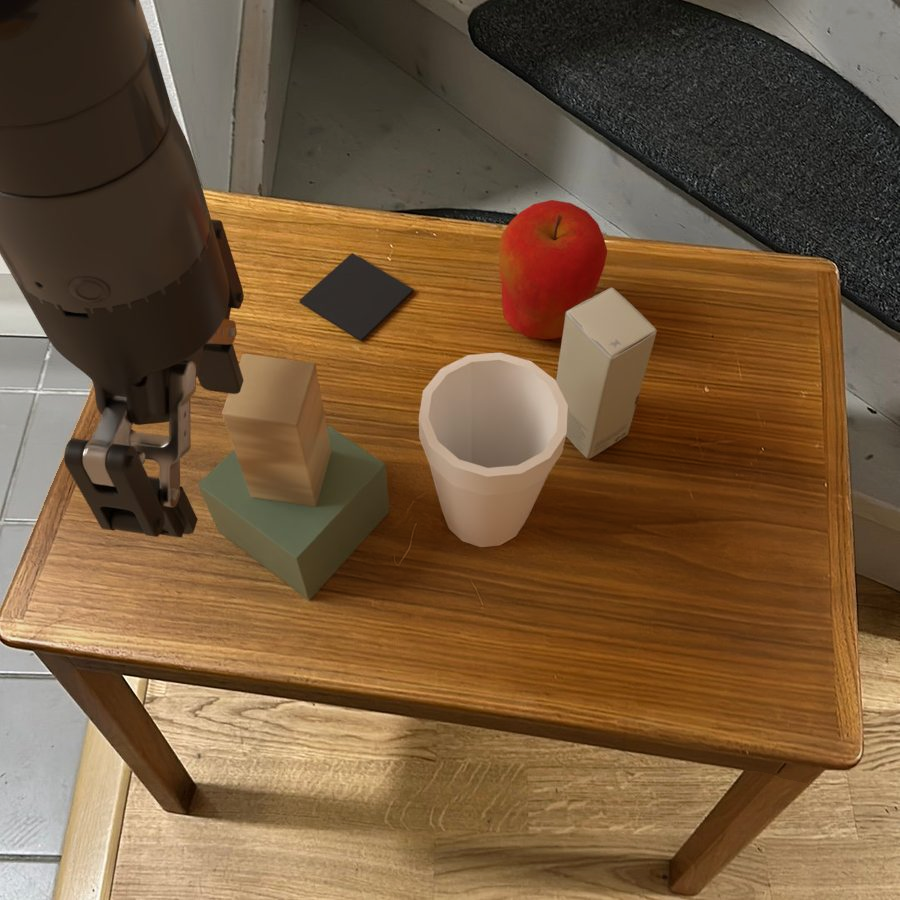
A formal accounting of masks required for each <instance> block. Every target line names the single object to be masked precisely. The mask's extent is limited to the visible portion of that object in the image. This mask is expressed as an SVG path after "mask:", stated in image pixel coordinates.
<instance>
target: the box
mask: <svg viewBox="0 0 900 900" xmlns="http://www.w3.org/2000/svg"><path fill="white" fill-rule="evenodd" d="M656 335H657V328H656V327H655V326H654V325H653V324H652V323H651V322H650V321H649V320H648V319H647V318H646V317H645V316H644V315H643V314H642V313H641V312H640V311H639V310H638V309H637V308H635V306H633V304H631V302H629V301H628V300H627V298H625V297H624V296H623V295H622V294H621V293H619V292H618V291H617V290H616V288H613V287H609V288H606V289H605V290H603V291H602V292H600V293H598V294H596V295H593V296H592V298H590V299H588V300H586V301H584V302H582V303H580V304H579V305H577V306H575V307H573V308H571V309H570V310H568V311H566V314H565V322H564V329H563V337H561V343H560V344H561V345H560V350H559V357H558V364H557V371H556V377H555V381H556V383H557V385H558V387H559V389H560V391H561V393H562V395H563V397H564V399H565V401H566V403H567V405H568V414H567V432H566V438H567V439H568V440H569V442H571V444H572V445H573V446H574V447H575V448H576V449H577V450H578V451H579V452H580V453H581V454H582V456H583V457H585V459H586V460H589V459H591V458H593V457H595V456H597V455H599V454H601V452H603V451H605V450H606V449H609V448H610V447H611V446H613V445H614V444H616V443H618V442H619V441H620V440H622V439H623V438H625V437H626V436H628V435H629V432H630V428H631V425H632V421H633V418H634V414H635V410H636V406H637V404H638V400H639V395H640V393H641V391H642V385H643V382H644V379H645V375H646V371H647V367H648V364H649V361H650V357H651V354H652V351H653V347H654V343H655V339H656Z"/></svg>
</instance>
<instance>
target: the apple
mask: <svg viewBox="0 0 900 900" xmlns="http://www.w3.org/2000/svg"><path fill="white" fill-rule="evenodd" d="M604 237H605V236H604V235H603V233H602V230H601V227H600V225H599V223H598V222H597V221H596V219H595V218H594V217H592V215H591V214H590V213H589V212H588V211H587V210H585V209H583V208H581V207H579V206H577V205H576V204H574V203H572V202H567V201H561V200H555V199H550V200H546V201H541V202H536V203H533V204H532V205H530V206H528V207H527V208H525V209H523V210H522V211H520V212H519V213H517V214H516V216H514V217H513V218H512V219H511V220H510V222H509V223H508V225H507V226H506V227H505V229H504V230H503V232H502V233H501V234H500V241H499V249H498V268H499V275H500V276H499V277H500V283H501V309H502V312H503V318H504V320H505V321H506V322H507V323H508V325H509V326H510V327H511V328H512V329H513V331H516V332H517V333H520V334H521V335H523V336H525V337H527V338H532V339H538V340H539V339H541V340H553V339H562V337H563V329H564V322H565V314H566V311H568V310H570V309H571V308H573V307H575V306H577V305H579V304H580V303H582V302H584V301H586V300H588V299H590V298H592V297H594V294H595V291H596V289H597V287H598V284H599V282H600V280H601V277H602V274H603V272H604V268H605V265H606V260H607V256H608V248H607V244H606V241H605V238H604Z"/></svg>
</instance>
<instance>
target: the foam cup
mask: <svg viewBox="0 0 900 900" xmlns="http://www.w3.org/2000/svg"><path fill="white" fill-rule="evenodd" d="M567 414H568V405H567V403H566V401H565V399H564V397H563V395H562V393H561V391H560V389H559V387H558V385H557V383H556V378H553V377H552V376H551V375H549V374H548V373H547V372H546V371H545V370H543V369H542V368H540V366H538V365H536V364H535V363H534V362H533V361H531V360H528V359H525V358H522V357H517V356H515V355H511V354H507V353H504V352H500V351H499V352H489V353H488V352H487V353H476V354H467V355H465V356H463V357H461V358H459V359H457V360H455V361H453V362H451V363H449V364H447V365H445V366H443V367H441V368H440V369H439V370H438V371H437V373H436V374H435V375H434V376H433V378H432V379H431V380H430V381H429V383H428V384H427V385H426V386H425V388H424V389H423V390H422V395H421V401H420V407H419V414H418V438H419V441H420V443H421V446H422V449H423V452H424V454H425V457H426V459H427V462H428V464H429V468H430V471H431V475H432V479H433V483H434V487H435V490H436V494H437V499H438V501H439V506H440V509H441V512H442V515H443V516H444V521H445V523H446V525H447V528H448V530H449V531H451V533H453V534H454V535H455V537H457V538H458V539H459V540H460V541H462V542H463V543H466V544H470V545H473V546H475V547H479V548H486V547H487V548H488V547H496V546H497V547H498V546H501V545H503V544H505V543H507V542H508V541H510V540H512V539H514V538H515V537H517V535H518V534H519V532H520V531H521V529H522V528H523V526H524V525H525V523H526V521H527V519H528V518H529V515H530V514H531V512H532V510H533V508H534V505H535V503H536V501H537V499H538V497H539V495H540V493H541V492H542V489H543V487H544V485H545V483H546V480H547V479H548V477H549V474H550V473H551V471H552V469H553V467H554V466H555V465H556V463H557V462H558V460H559V459H560V458H561V455H562V454H563V451H564V446H565V441H566V438H567V437H566V432H567Z"/></svg>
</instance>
